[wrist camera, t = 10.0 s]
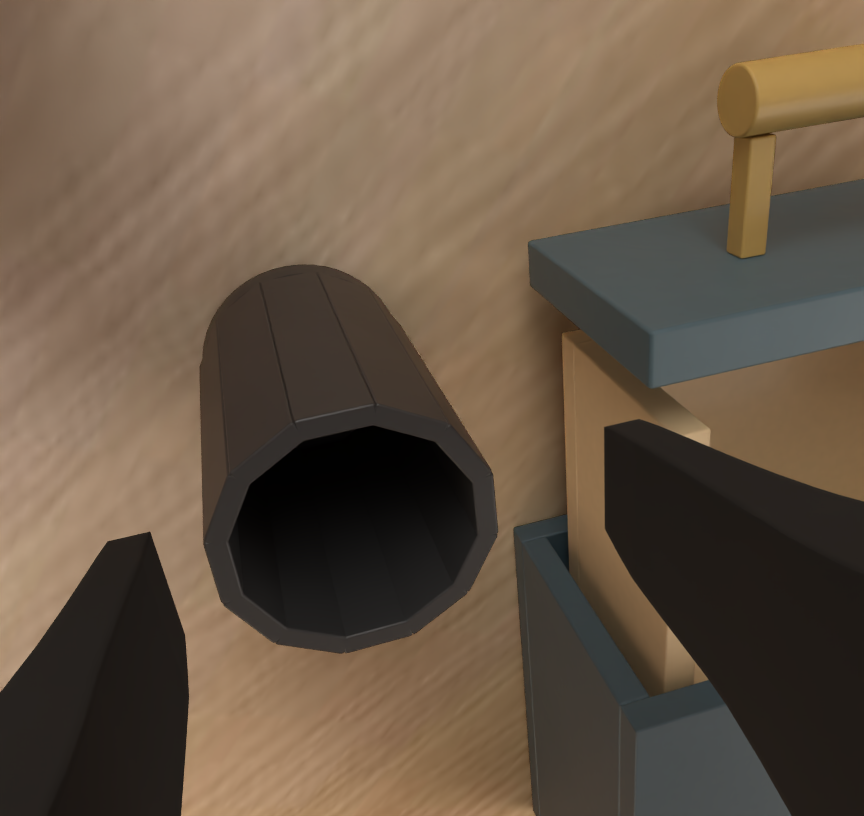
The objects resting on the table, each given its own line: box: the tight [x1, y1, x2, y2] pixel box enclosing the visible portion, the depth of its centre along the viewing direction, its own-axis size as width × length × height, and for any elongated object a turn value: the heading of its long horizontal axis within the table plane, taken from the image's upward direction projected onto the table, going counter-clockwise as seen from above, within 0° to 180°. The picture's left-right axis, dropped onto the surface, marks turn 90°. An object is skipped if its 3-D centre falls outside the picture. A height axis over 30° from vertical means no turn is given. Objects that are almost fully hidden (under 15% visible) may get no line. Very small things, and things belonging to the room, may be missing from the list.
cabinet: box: [514, 514, 791, 816], centre depth 26 cm, size 14×14×8 cm
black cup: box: [200, 265, 498, 654], centre depth 17 cm, size 5×5×8 cm
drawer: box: [528, 44, 864, 697], centre depth 21 cm, size 16×12×6 cm
